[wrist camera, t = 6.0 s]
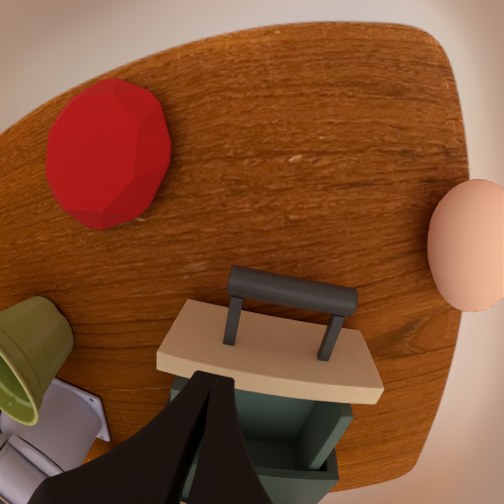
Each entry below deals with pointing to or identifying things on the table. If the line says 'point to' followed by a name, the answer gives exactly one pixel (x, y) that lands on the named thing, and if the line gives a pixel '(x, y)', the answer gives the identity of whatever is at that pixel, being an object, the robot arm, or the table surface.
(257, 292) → the drawer
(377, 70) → the table surface
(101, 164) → the gemstone
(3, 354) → the plant pot
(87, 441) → the robot arm
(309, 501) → the cabinet
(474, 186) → the egg
